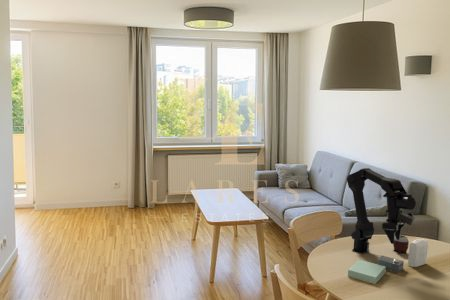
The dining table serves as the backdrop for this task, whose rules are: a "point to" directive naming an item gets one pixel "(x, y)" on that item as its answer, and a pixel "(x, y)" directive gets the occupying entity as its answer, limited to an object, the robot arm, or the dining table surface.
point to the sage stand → (367, 271)
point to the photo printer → (418, 253)
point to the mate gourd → (401, 244)
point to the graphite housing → (391, 263)
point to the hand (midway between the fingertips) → (395, 241)
